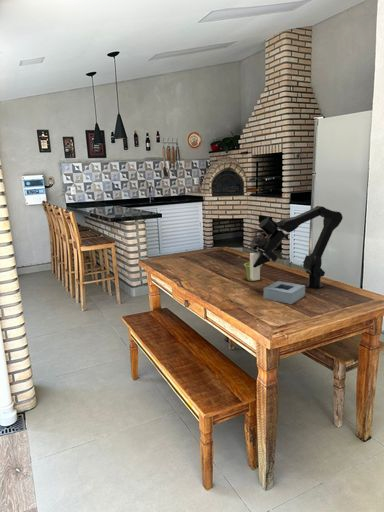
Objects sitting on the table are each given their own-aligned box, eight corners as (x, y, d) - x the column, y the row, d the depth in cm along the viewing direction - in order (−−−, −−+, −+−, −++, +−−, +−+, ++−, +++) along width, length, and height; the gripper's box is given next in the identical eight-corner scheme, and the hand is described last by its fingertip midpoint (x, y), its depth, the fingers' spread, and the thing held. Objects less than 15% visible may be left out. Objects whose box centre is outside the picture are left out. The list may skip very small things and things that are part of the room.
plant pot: (262, 277, 214) (262, 262, 212) (260, 282, 206) (260, 266, 204) (245, 277, 217) (245, 261, 215) (243, 281, 208) (243, 266, 206)
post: (256, 277, 188) (256, 252, 186) (259, 279, 185) (259, 253, 182) (250, 278, 188) (249, 253, 185) (253, 280, 184) (252, 254, 181)
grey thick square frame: (277, 290, 191) (277, 280, 190) (304, 295, 182) (305, 285, 181) (263, 298, 181) (263, 288, 180) (291, 304, 172) (291, 293, 171)
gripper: (254, 227, 191) (233, 251, 191) (271, 233, 173) (248, 259, 173) (269, 241, 194) (248, 265, 194) (287, 248, 177) (264, 274, 177)
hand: (252, 266), depth 185 cm, fingers closed on post, 3 cm apart
